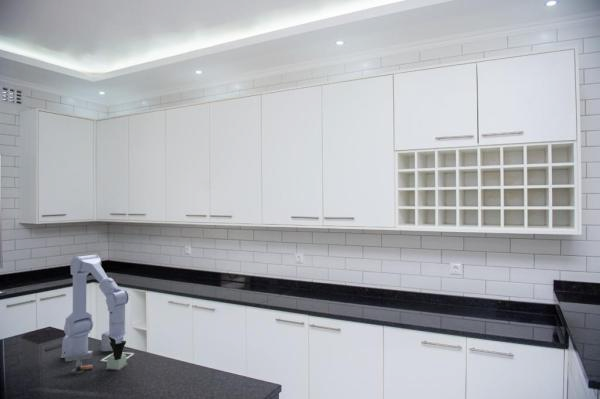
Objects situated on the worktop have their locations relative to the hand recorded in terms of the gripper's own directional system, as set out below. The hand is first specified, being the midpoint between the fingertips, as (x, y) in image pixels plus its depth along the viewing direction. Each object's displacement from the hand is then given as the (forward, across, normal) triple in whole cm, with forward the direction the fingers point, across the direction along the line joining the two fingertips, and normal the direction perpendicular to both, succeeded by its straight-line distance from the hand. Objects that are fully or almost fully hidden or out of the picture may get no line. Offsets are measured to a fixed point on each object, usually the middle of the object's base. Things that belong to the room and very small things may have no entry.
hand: (117, 356), depth 154 cm
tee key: (+4, -3, -13) cm, 14 cm away
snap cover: (+4, 0, 0) cm, 4 cm away
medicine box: (+5, -21, 0) cm, 21 cm away
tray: (+5, -10, +1) cm, 11 cm away
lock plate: (+5, -2, -8) cm, 9 cm away
